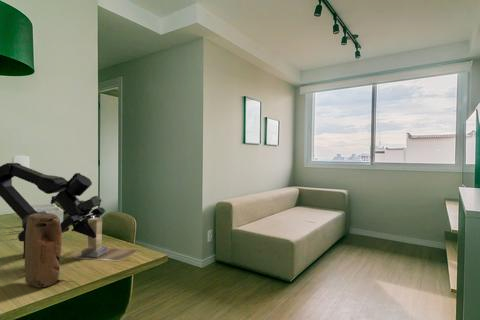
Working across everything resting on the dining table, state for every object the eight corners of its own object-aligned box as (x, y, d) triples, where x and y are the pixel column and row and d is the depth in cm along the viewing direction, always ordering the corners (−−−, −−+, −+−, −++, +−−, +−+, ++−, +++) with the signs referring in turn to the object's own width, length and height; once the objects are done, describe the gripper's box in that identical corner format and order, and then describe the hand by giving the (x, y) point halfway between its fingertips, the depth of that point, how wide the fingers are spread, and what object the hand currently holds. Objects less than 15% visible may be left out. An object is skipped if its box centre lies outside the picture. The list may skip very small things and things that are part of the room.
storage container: (63, 233, 132) (63, 210, 132) (34, 237, 125) (35, 213, 125) (53, 223, 151) (53, 203, 150) (27, 226, 143) (28, 205, 143)
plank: (67, 262, 97) (67, 257, 97) (89, 250, 109) (89, 246, 109) (121, 265, 95) (121, 261, 95) (137, 253, 107) (137, 249, 107)
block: (22, 280, 82) (23, 214, 82) (51, 272, 88) (52, 210, 88) (33, 292, 75) (34, 220, 75) (64, 283, 81) (65, 215, 81)
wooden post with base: (81, 256, 98) (82, 220, 98) (92, 250, 104) (92, 216, 104) (97, 257, 97) (97, 220, 97) (107, 251, 103) (107, 217, 103)
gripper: (67, 192, 91) (97, 227, 90) (101, 187, 110) (127, 215, 109) (45, 215, 92) (74, 250, 91) (82, 205, 111) (107, 234, 110)
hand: (98, 235), depth 100 cm, fingers open, 3 cm apart
